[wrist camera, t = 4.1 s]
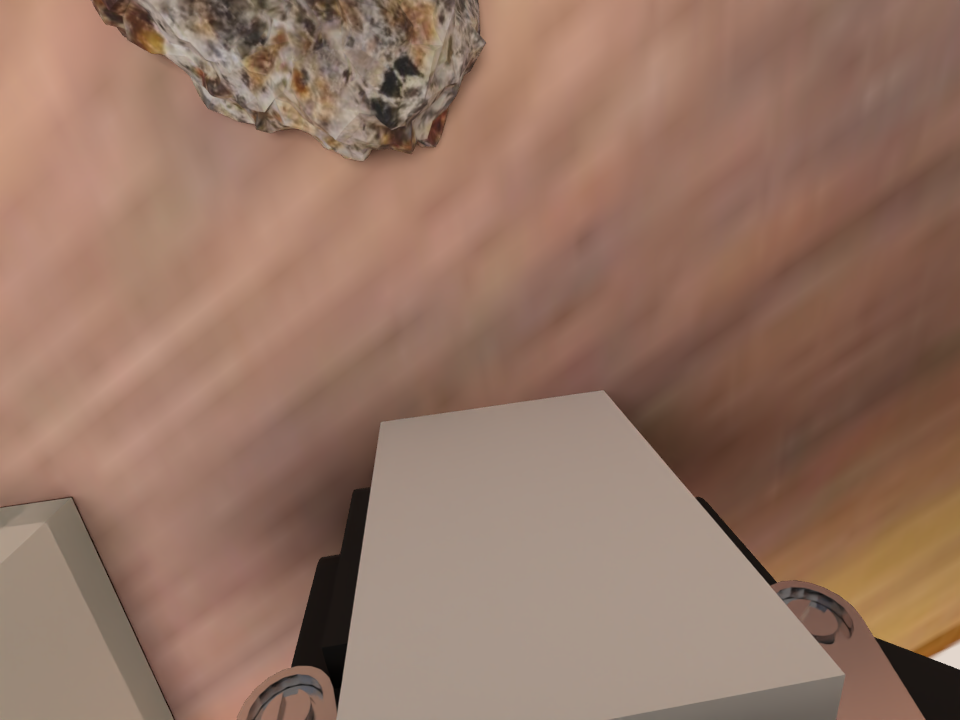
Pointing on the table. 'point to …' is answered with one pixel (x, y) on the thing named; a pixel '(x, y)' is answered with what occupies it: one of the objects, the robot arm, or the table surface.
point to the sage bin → (65, 625)
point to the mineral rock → (317, 62)
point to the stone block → (560, 582)
